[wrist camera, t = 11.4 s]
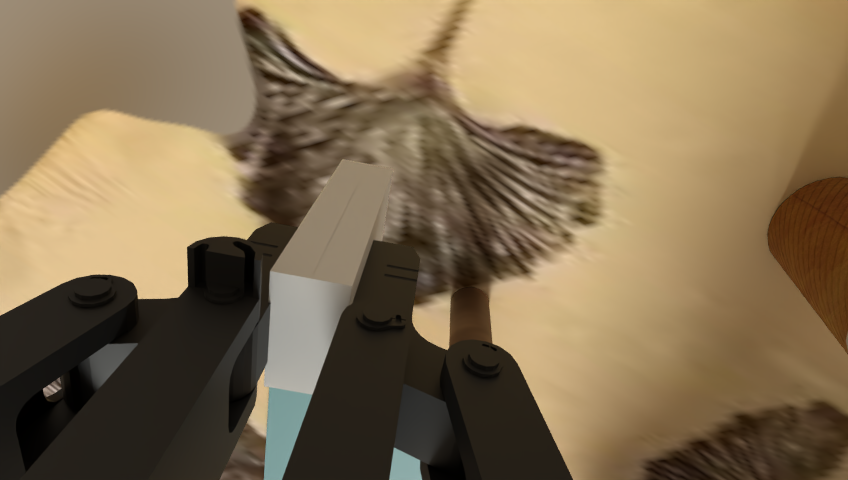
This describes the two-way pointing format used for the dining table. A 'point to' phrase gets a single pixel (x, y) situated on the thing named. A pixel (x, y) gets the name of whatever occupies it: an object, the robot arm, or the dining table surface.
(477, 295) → the inner post
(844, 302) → the disposable coffee cup
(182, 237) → the dining table surface
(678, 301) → the dining table surface
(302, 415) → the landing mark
